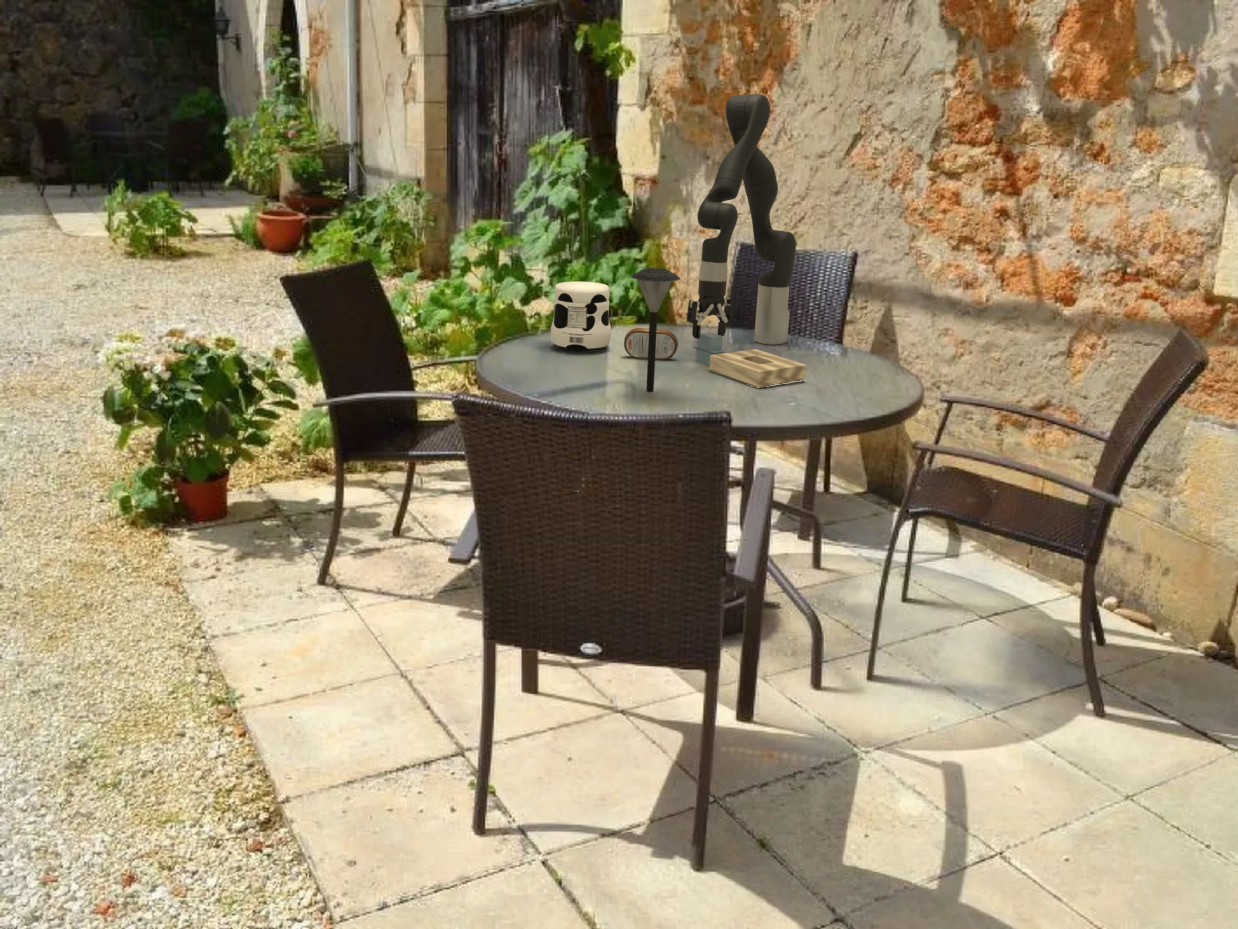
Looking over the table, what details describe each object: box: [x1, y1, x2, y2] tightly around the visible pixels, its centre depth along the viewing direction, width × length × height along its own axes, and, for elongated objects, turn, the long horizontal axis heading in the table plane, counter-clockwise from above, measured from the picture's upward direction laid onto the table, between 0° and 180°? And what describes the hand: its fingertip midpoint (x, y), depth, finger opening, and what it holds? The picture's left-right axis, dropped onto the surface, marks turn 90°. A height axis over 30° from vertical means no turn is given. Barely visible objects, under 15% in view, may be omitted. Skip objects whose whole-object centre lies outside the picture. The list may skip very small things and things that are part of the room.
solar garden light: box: [629, 267, 681, 393], centre depth 263 cm, size 12×12×30 cm
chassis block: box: [708, 348, 807, 388], centre depth 285 cm, size 16×20×4 cm
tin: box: [623, 327, 679, 361], centre depth 299 cm, size 15×3×8 cm, turn 84°
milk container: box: [550, 280, 612, 353], centre depth 307 cm, size 17×17×18 cm
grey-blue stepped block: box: [692, 331, 726, 367], centre depth 297 cm, size 4×9×8 cm, turn 34°
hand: (708, 337), depth 296 cm, fingers open, 8 cm apart
